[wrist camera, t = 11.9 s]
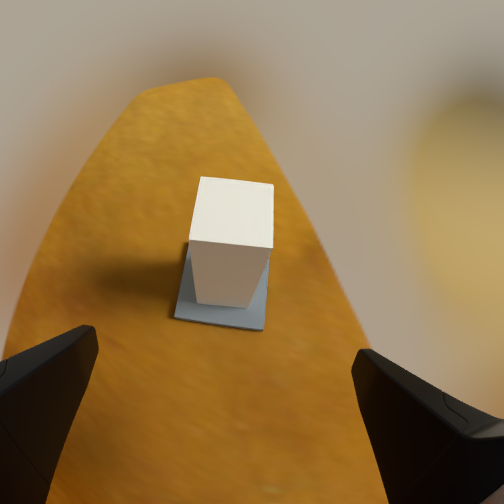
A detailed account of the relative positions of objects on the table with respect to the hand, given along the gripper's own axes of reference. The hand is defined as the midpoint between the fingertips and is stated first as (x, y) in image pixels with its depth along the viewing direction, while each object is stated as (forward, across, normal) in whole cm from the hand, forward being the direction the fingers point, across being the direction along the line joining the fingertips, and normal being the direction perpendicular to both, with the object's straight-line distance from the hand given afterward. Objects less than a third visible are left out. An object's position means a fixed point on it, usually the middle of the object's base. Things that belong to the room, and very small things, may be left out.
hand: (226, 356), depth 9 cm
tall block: (+14, 0, +4) cm, 15 cm away
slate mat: (+15, 0, +4) cm, 15 cm away
